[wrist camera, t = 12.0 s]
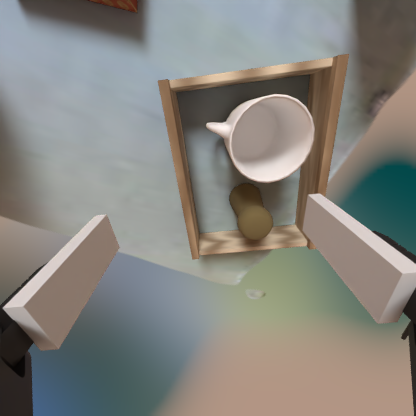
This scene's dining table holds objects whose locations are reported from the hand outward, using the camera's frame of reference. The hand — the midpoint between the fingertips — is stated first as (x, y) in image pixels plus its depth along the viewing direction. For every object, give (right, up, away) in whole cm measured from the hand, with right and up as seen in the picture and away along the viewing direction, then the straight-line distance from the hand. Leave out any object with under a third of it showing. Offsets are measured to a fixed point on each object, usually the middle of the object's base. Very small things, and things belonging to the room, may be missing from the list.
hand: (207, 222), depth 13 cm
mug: (+6, +13, +19) cm, 24 cm away
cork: (+7, +3, +25) cm, 26 cm away
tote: (+7, +8, +22) cm, 24 cm away
